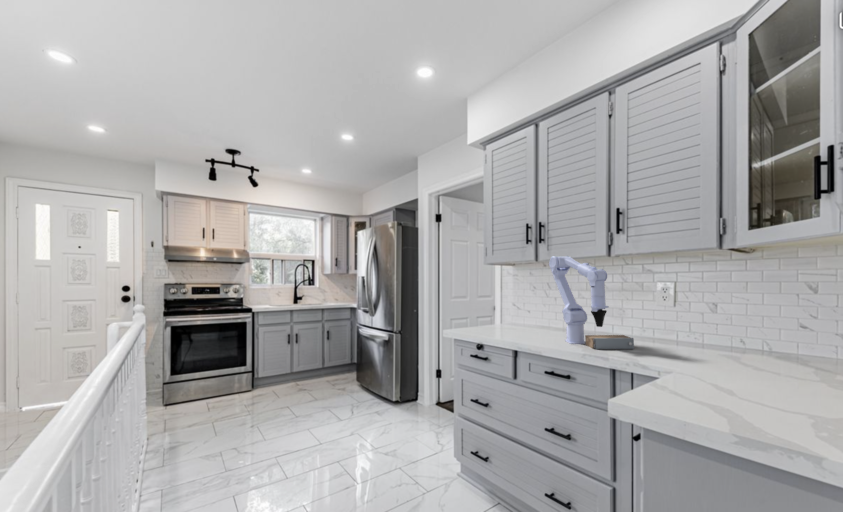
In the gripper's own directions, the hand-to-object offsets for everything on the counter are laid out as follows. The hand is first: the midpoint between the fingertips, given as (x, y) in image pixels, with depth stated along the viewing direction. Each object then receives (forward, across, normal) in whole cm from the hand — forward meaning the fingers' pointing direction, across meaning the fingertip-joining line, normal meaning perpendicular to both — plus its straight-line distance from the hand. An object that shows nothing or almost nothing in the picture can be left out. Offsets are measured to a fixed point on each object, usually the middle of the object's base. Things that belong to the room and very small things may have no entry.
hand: (599, 326), depth 163 cm
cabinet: (+9, +5, -2) cm, 11 cm away
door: (+9, 0, -5) cm, 11 cm away
